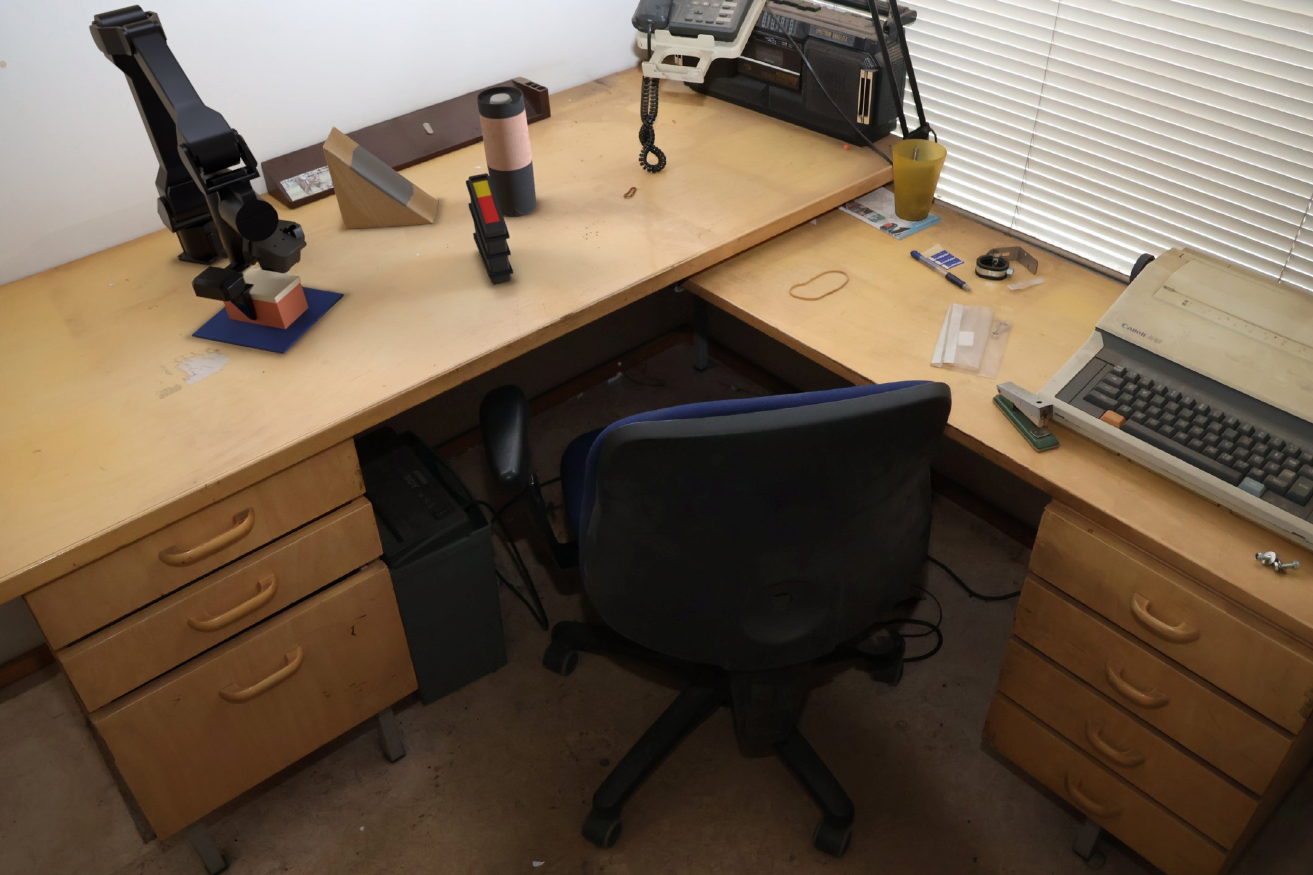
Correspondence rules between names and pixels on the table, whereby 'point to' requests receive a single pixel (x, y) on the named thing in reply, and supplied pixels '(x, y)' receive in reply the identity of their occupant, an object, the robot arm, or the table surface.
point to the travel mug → (508, 149)
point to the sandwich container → (373, 188)
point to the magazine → (489, 228)
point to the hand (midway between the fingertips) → (267, 307)
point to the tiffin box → (272, 299)
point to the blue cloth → (268, 336)
